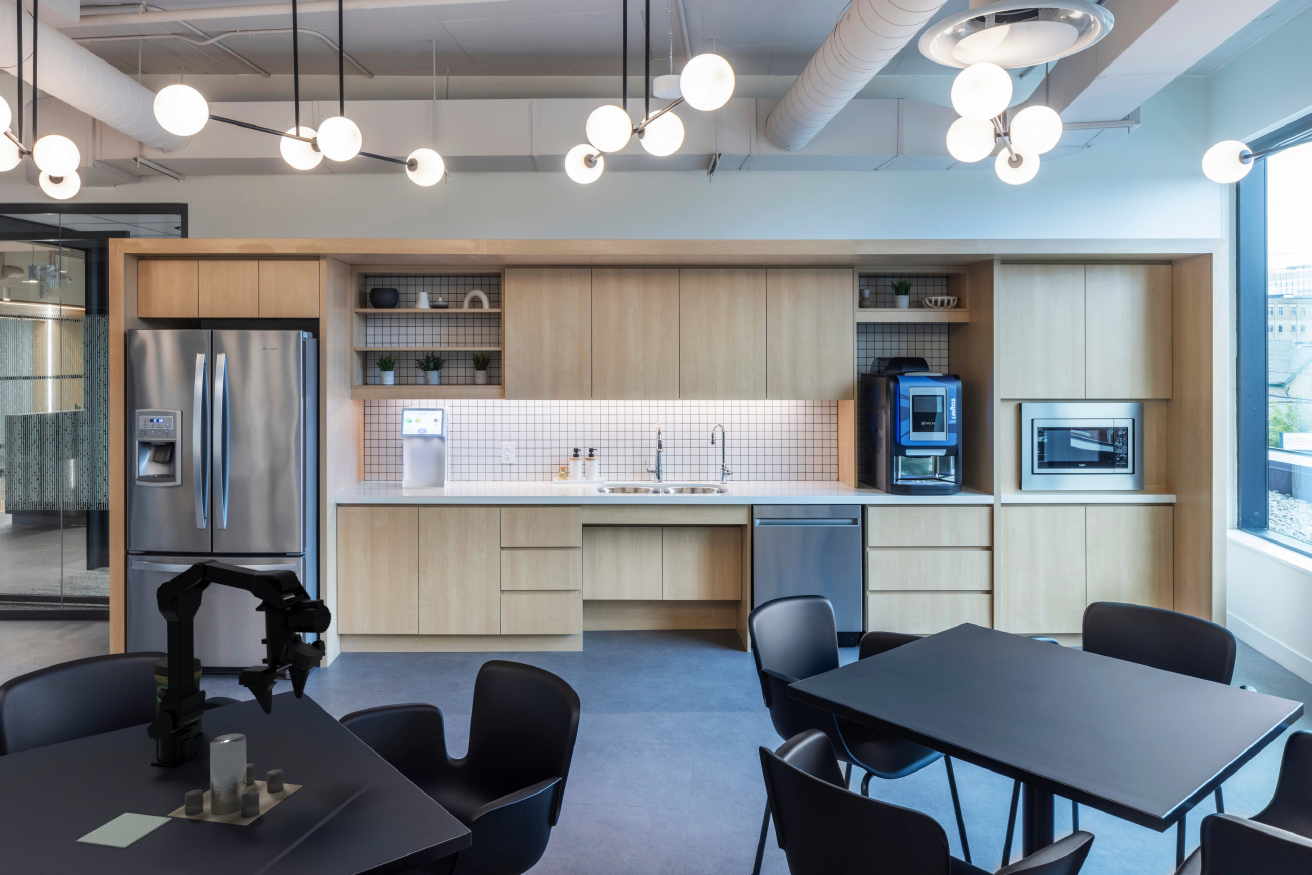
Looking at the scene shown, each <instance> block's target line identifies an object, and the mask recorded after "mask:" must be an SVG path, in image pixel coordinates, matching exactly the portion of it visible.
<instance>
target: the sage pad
mask: <svg viewBox="0 0 1312 875" xmlns="http://www.w3.org/2000/svg"><path fill="white" fill-rule="evenodd" d="M171 821H172V817H164V816H156V815H155V816H154V815H147V814H140V813H132V812H131V813H130V812H125V813H123V814H121V815H119V816H118V817H116V818H114V819H112V820H110V821H108V822H107V823H105V824H103V825H102V826H100V827H98V828H96V829H95V830H93V831H91V832H89V833H88V834H85V835H84V836H82V837H80V838H79V839H77V840H76V843H81V844H89V845H95V846H98V845H99V846H103V847H111V848H119V849H126V848H128V847H130V846H131V845H133V844H135V843H136V842H138V841H140V840H141V839H143V838H145V837H146V836H147V835H149V834H151V833H152V832H154V831H156V830H157V829H159V828H161V827H162V826H164V825H165V824H168V822H171Z"/></svg>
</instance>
